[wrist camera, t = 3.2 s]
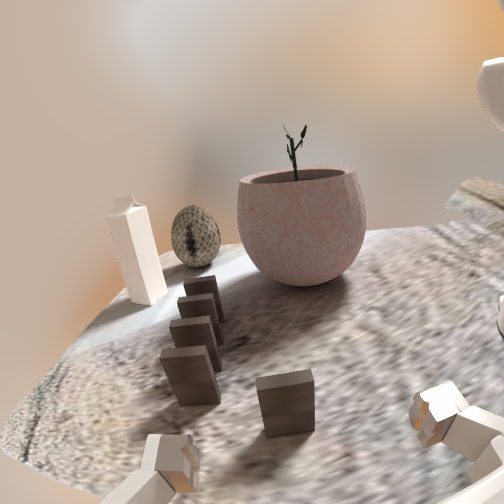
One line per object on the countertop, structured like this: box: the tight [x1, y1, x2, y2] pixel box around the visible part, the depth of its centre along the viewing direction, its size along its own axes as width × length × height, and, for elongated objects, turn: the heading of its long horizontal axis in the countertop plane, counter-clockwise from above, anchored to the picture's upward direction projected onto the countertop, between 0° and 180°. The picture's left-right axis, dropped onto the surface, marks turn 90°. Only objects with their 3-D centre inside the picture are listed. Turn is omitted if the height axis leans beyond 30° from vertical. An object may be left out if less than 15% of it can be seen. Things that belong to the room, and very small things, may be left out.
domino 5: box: [256, 369, 315, 438], centre depth 26 cm, size 5×2×8 cm, turn 93°
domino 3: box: [169, 316, 222, 372], centre depth 38 cm, size 5×2×8 cm, turn 93°
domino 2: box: [177, 293, 223, 345], centre depth 43 cm, size 5×2×8 cm, turn 93°
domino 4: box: [160, 345, 221, 406], centre depth 32 cm, size 5×2×8 cm, turn 93°
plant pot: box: [237, 126, 366, 286], centre depth 55 cm, size 24×24×30 cm
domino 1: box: [183, 275, 224, 323], centre depth 49 cm, size 5×2×8 cm, turn 93°
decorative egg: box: [171, 205, 220, 267], centre depth 72 cm, size 12×12×15 cm
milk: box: [107, 195, 168, 306], centre depth 58 cm, size 6×6×22 cm
